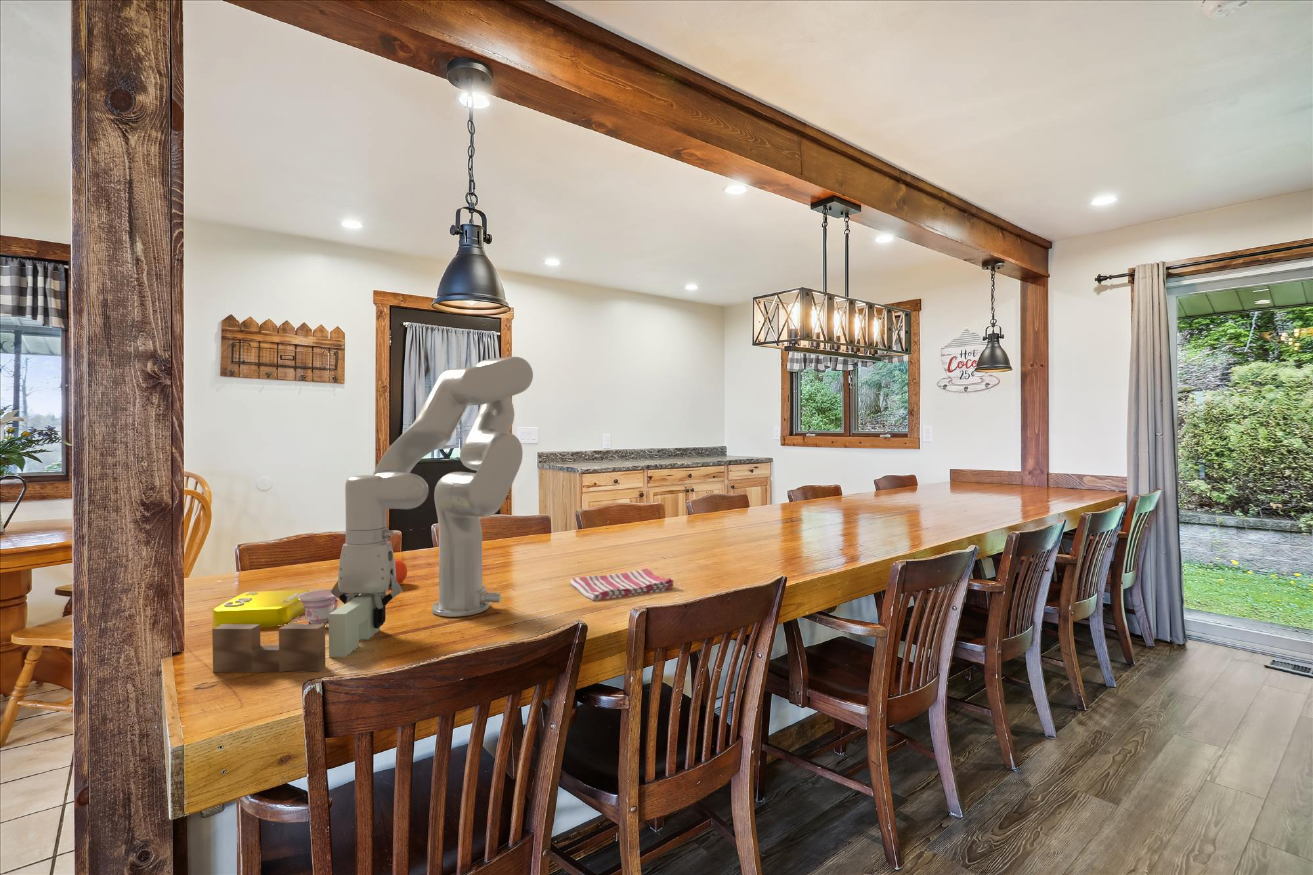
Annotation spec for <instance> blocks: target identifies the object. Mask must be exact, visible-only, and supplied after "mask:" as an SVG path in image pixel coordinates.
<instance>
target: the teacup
mask: <svg viewBox="0 0 1313 875" xmlns="http://www.w3.org/2000/svg"><path fill="white" fill-rule="evenodd" d="M331 590H332V589H315V590H309V591H308V592H304V593H301V594H299V595H298V598H299V601H300V602H302V603H303V607H304V608H305V613H304V614H303V615H301V616H299V617H298V618H295V619H293V620H292V621H290V622H289V624H293V622H297V620H301V619H302V618H305V619H307V620H309V621H310V622H309V623H310V624H311V623H312V624H322V623H323V624H329V614H330V613H331V612H333V611H334V610H336V609H338V598H337V597H336V596H334V595H333V594H331ZM327 621H328V622H327ZM325 622H326V623H325ZM325 629H329V626H326V627H325Z"/></svg>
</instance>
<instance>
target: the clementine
mask: <svg viewBox="0 0 1313 875" xmlns="http://www.w3.org/2000/svg"><path fill="white" fill-rule="evenodd" d="M394 560H395V570H396V581H397V582H398V583H399V585H400V584H401V583H403V582H404V581H405V579H406V578H407V575H408V567H407V565H406V564H405V563H404V562H403V561H402V560H400V559H399V558H398V559H397V558H394Z"/></svg>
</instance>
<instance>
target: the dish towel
mask: <svg viewBox="0 0 1313 875" xmlns="http://www.w3.org/2000/svg"><path fill="white" fill-rule="evenodd" d="M569 585H571V586H572V587H573V588H575V590H577V591H578V592H580V593H581V594H582V595H583V596H584V597H585V598H587V599H589V600H591V601H592V602H595V601H601V600H609V599H616V598H623V597H630V596H636V595H637V596H638V595H643V594H644V595H645V594H652V593H659V592H665V591H671V590H672V589H673V587H674V580H673V579H672V578H671V577H668V578H665V577H659V575H656V574H654V573H653V572H652V570H650V569H649V568H643V569H637V570H633V571H628V572H627V571H626V572H622V573H611V574H606V575H598V574H597V575H585V576H582V577H573V578H571V580H570V581H569Z"/></svg>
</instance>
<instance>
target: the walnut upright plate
mask: <svg viewBox="0 0 1313 875" xmlns="http://www.w3.org/2000/svg"><path fill="white" fill-rule="evenodd" d="M325 624H326V623H323V624H311V623H310V624H309V623H308V624H286V625H284V626H280V627H278V644H267V645H266V644H261V627H260V624H222V625H220V626H217V627H215V628H213V627H212V631H211V632H212V634H211V635H212V673H281V672H280V671H319V672H320V671H322V668H323V669H324V668H326V628H325Z"/></svg>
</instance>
